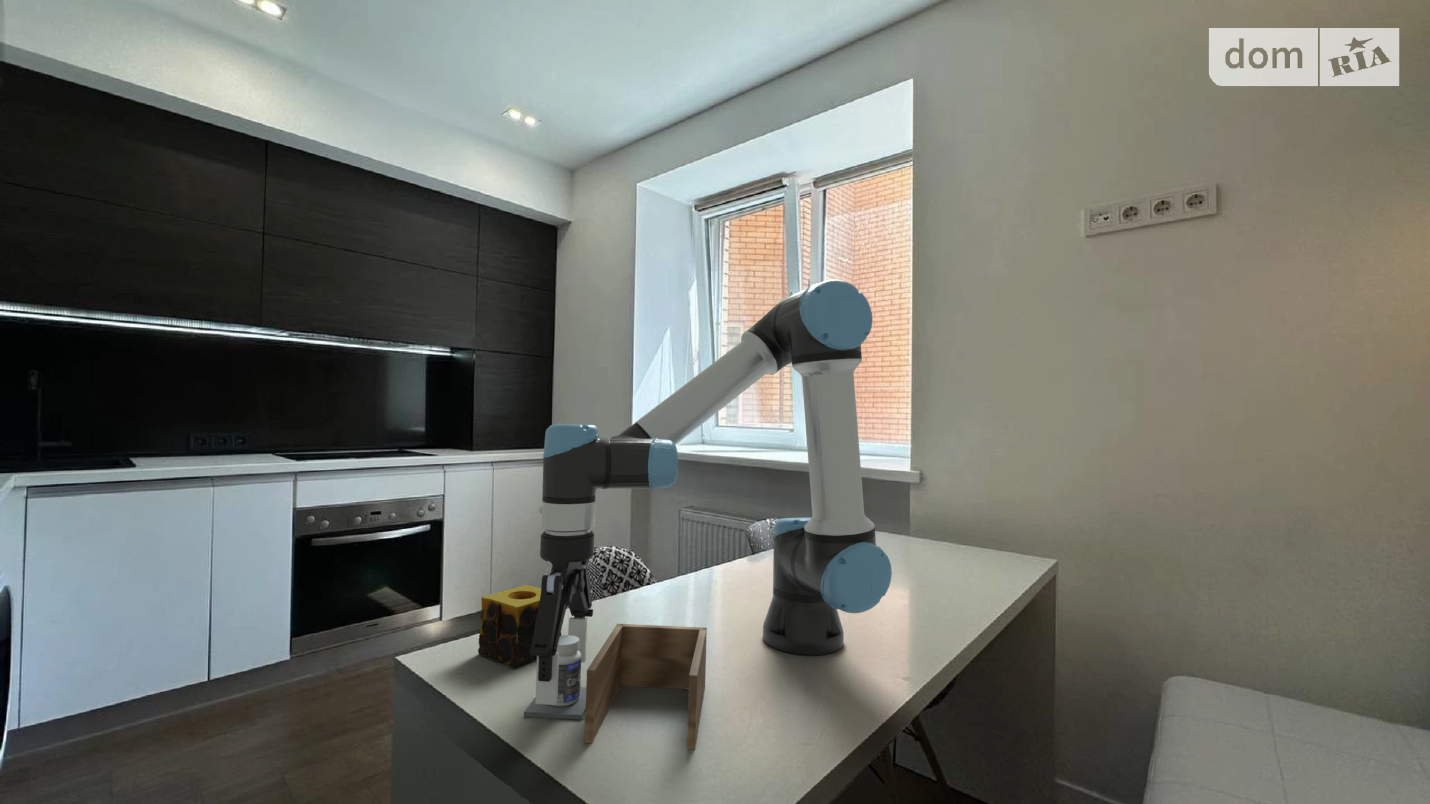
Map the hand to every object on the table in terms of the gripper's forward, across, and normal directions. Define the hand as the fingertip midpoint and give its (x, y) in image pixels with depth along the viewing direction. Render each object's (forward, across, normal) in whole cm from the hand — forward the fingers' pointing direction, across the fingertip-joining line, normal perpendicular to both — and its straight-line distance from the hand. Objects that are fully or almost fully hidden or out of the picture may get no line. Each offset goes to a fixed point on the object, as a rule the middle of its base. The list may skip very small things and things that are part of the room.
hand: (562, 680), depth 82 cm
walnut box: (+3, +1, +13) cm, 13 cm away
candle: (+4, -17, -13) cm, 22 cm away
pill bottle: (+3, 0, 0) cm, 3 cm away
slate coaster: (+3, 0, 0) cm, 3 cm away
